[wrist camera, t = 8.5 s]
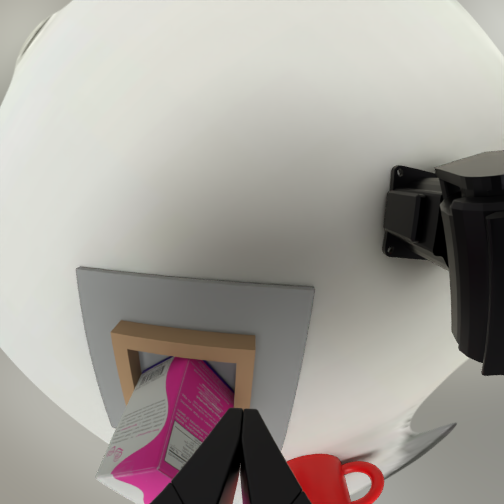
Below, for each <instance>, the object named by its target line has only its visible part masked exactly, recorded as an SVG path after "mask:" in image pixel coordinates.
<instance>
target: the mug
mask: <svg viewBox="0 0 504 504" xmlns="http://www.w3.org/2000/svg"><path fill="white" fill-rule="evenodd" d="M287 464H288V465H289V467H290V469H291V470H292V472H293V474H294V476H295V477H296V479H297V481H298V482H299V484H300V486H301V487H302V489H303V491H304V492H305V493H306V495H307V497H308V498H309V500H310V501H311V503H312V504H372V503H373V502H374V501H375V500H376V499H377V498H378V497H379V496H380V494H381V492H382V490H383V487H384V477H383V474H382V472H381V471H380V470H379V469H378V468H377V467H376V466H375V465H373V464H371V463H368V462H364V461H354V462H349V463H345V464H343V465H341V461H340V460H339V459H338V458H337V457H335V456H333V455H328V454H312V455H305V456H301V457H297V458H294V459H292V460H289V461H287ZM352 472H361V473H365V474H367V475H368V476H369V477H370V479H371V488H370V490H369V492H368V493H367V494H366V495H365V496H364V497H362V498H361V499H359V500H356V501H352V502H351V499H350V495H349V492H348V488H347V484H346V480H345V476H344V475H346V474H348V473H352Z"/></svg>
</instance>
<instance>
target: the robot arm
mask: <svg viewBox="0 0 504 504" xmlns="http://www.w3.org/2000/svg"><path fill="white" fill-rule="evenodd" d="M398 170H400V171H401V174H400V176H399V175H398V174H397V171H398ZM435 172H436V174H434V173H430V172H426V171H422V170H418V169H414V168H410V167H405V166H394V167H393V169H392V175H391V187H390V191H389V192H388V195H387V204H386V213H385V221H384V228H385V236H384V242H383V253H384V254H385V255H386V256H389V257H398V258H410V259H422V260H429V261H431V262H433V263H435V264H437V265H438V266H440V267H442V268H444V269H446V270H448V271H449V275H450V289H451V319H452V333H453V335H454V337H455V339H456V341H457V343H458V344H459V346H458V348H459V350H460V351H461V352H462V353H464V354H465V355H466V356H467V357H469V358H471V359H474V360H476V361H478V362H481V363H483V366H482V375H484V376H489V375H504V150H503V151H491V152H484V153H480V154H477V155H474V156H470V157H467V158H464V159H460V160H457V161H454V162H451V163H447V164H444V165H441V166H438V167H435ZM389 247H391V251H390V252H388V248H389ZM239 472H240V477H241V489H242V499H243V504H312V503H311V501H310V500H309V498H308V497H307V495H306V493H305V492H304V491H303V489H302V487H301V486H300V484H299V482H298V481H297V479H296V477H295V476H294V474H293V472H292V470H291V469H290V467H289V465H288V464H287V462H286V460H285V458H284V457H283V455H282V453H281V451H280V450H279V448H278V446H277V444H276V442H275V441H274V439H273V437H272V435H271V433H270V431H269V430H268V428H267V426H266V424H265V422H264V420H263V418H262V417H261V415H260V413H259V411H258V410H257V409H248V408H245V409H244V410H243V409H242V408H229V409H228V410H227V411H226V412H225V414H224V415H223V416H222V418H221V419H220V420H219V422H218V423H217V424H216V426H215V427H214V428H213V430H212V431H211V432H210V433H209V435H208V436H207V437H206V439H205V440H204V441H203V442H202V444H201V445H200V446H199V447H198V449H197V450H196V451H195V452H194V454H193V455H192V456H191V457H190V459H189V460H188V461H187V462H186V463H185V465H184V466H183V467H182V468H181V469H180V471H179V472H178V473H177V474H176V475H175V477H174V478H173V479H172V480H171V483H168V484H167V486H166V487H165V488H164V489H163V490H162V491H161V492H160V493H159V494H158V495H157V496H156V497H155V499H154V500H153V501H152V502H151V503H149V504H233V499H234V495H235V491H236V486H237V482H238V477H239Z"/></svg>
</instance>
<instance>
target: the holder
mask: <svg viewBox="0 0 504 504" xmlns="http://www.w3.org/2000/svg"><path fill="white" fill-rule="evenodd" d="M76 275H77V284H78V291H79V298H80V305H81V311H82V317H83V322H84V328H85V333H86V338H87V343H88V347H89V351H90V356H91V360H92V364H93V368H94V372H95V375H96V379H97V383H98V386H99V390H100V393H101V396H102V399H103V403H104V406H105V409H106V412H107V415H108V418H109V420H110V423H111V426H112V427H113V428H117V426H118V423H119V421H120V419H121V417H122V415H123V413H124V410H125V408H126V406H127V404H128V402H129V400H130V398H131V396H132V393H133V391H134V389H135V387H136V385H137V383H138V380H139V378H140V376H141V374H142V371H143V370H145V369H147V368H149V367H151V366H153V365H155V364H156V363H158V362H160V361H162V360H164V359H166V358H168V357H169V356H174V357H181V358H189V359H197V360H206V361H207V363H208V364H209V365H210V366H211V367H212V368H213V369H214V370H215V371H216V372H217V373H218V375H219V376H220V377H221V378H222V379H223V380H224V381H225V382H226V383H227V384H228V385H229V386H230V387H231V388H232V389H233V390H234V408H242V409H243V410H244V409H245V408H248V409H257V410H258V411H259V413H260V415H261V417H262V418H263V420H264V422H265V424H266V426H267V428H268V430H269V431H270V433H271V435H272V437H273V439H274V441H275V442H276V444H277V446H278V448H279V450H282V447H283V443H284V439H285V436H286V432H287V428H288V424H289V419H290V415H291V411H292V407H293V403H294V398H295V394H296V389H297V385H298V380H299V375H300V370H301V365H302V361H303V355H304V350H305V345H306V340H307V334H308V329H309V323H310V317H311V311H312V305H313V299H314V293H315V289H314V287H303V286H286V285H271V284H256V283H242V282H229V281H216V280H204V279H193V278H181V277H171V276H160V275H150V274H140V273H131V272H121V271H112V270H104V269H95V268H87V267H78V268H76Z"/></svg>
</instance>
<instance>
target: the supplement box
mask: <svg viewBox="0 0 504 504" xmlns="http://www.w3.org/2000/svg"><path fill="white" fill-rule="evenodd" d="M229 408H234V390H233V389H232V388H231V387H230V386H229V385H228V384H227V383H226V382H225V381H224V380H223V379H222V378H221V377H220V376H219V375H218V373H217V372H216V371H215V370H214V369H213V368H212V367H211V366H210V365H209V364H208V363H207V361H206V360H197V359H189V358H181V357H174V356H169V357H168V358H166V359H164V360H162V361H160V362H158V363H156V364H155V365H153V366H151V367H149V368H147V369H145V370H143V371H142V374H141V376H140V378H139V380H138V383H137V385H136V387H135V389H134V391H133V393H132V396H131V398H130V400H129V402H128V404H127V406H126V408H125V410H124V413H123V415H122V417H121V419H120V421H119V423H118V426H117V428H116V430H115V432H114V435H113V437H112V439H111V442H110V444H109V447H108V449H107V451H106V453H105V455H104V458H103V460H102V462H101V465H100V467H99V470H98V472H97V474H96V479H97V480H98V481H100V482H101V483H103V484H104V485H106V486H107V487H109V488H111V489H112V490H114V491H116V492H117V493H119V494H121V495H122V496H124V497H126V498H128V499H129V500H131V501H133V502H134V503H136V504H149V503H151V502H152V501H153V500H154V499H155V497H156V496H157V495H158V494H159V493H160V492H161V491H162V490H163V489H164V488H165V487H166V486H167V484H168V483H171V480H172V479H173V478H174V477H175V475H176V474H177V473H178V472H179V471H180V469H181V468H182V467H183V466H184V465H185V463H186V462H187V461H188V460H189V459H190V457H191V456H192V455H193V454H194V452H195V451H196V450H197V449H198V447H199V446H200V445H201V444H202V442H203V441H204V440H205V439H206V437H207V436H208V435H209V433H210V432H211V431H212V430H213V428H214V427H215V426H216V424H217V423H218V422H219V420H220V419H221V418H222V416H223V415H224V414H225V412H226V411H227V410H228V409H229Z"/></svg>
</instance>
